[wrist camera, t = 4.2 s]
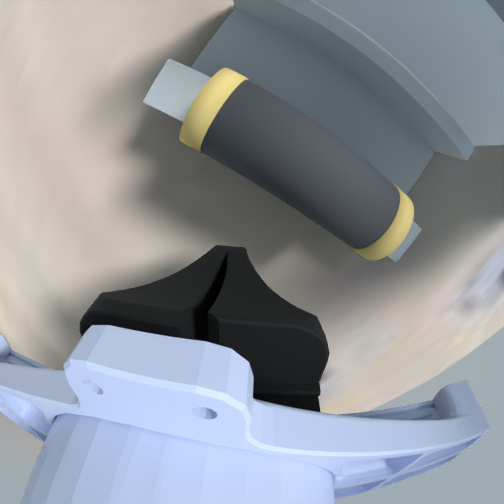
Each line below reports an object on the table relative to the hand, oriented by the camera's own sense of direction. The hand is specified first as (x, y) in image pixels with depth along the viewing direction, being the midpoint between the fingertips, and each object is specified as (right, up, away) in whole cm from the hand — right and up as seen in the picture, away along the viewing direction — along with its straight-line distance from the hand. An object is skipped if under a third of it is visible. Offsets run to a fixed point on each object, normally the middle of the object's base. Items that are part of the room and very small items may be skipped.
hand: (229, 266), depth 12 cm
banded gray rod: (+3, +4, -3) cm, 6 cm away
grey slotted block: (+5, +8, 0) cm, 10 cm away
